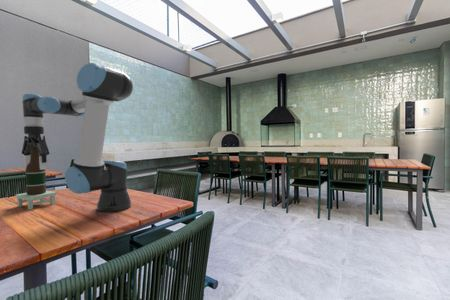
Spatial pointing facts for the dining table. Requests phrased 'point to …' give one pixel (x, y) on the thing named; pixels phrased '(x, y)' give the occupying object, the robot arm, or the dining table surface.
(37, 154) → the beer bottle
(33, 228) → the dining table surface
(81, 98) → the robot arm
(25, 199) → the stool
